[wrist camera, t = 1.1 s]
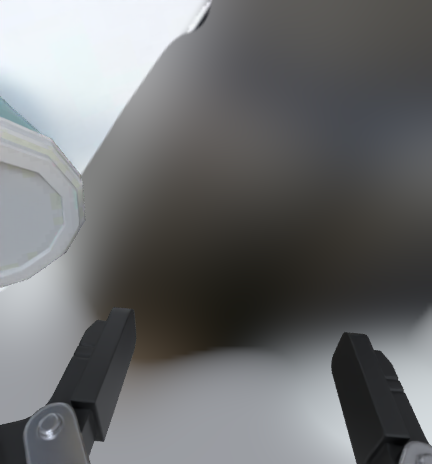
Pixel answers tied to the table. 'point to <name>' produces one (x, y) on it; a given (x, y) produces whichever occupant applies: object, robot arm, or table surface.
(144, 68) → the table surface
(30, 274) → the disposable coffee cup
